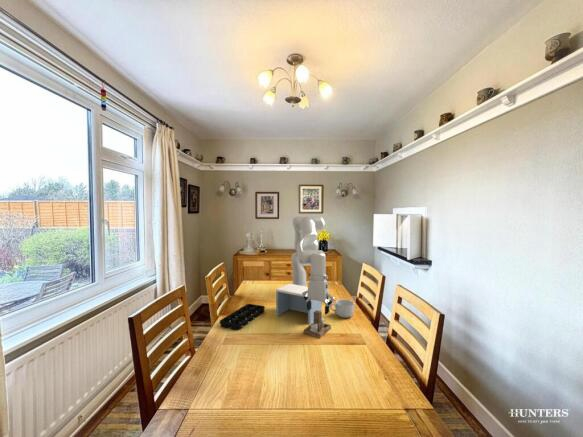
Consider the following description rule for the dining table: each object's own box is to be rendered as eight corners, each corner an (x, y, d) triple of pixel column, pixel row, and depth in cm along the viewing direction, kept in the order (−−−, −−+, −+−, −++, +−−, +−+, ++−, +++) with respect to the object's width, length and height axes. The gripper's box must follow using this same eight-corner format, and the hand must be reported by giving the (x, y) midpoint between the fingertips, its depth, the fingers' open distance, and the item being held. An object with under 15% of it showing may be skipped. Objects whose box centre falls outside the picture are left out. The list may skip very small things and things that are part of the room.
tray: (315, 325, 140) (315, 306, 139) (330, 329, 135) (331, 309, 135) (303, 333, 130) (303, 313, 129) (320, 338, 125) (320, 317, 125)
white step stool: (289, 307, 164) (289, 283, 163) (321, 315, 152) (321, 289, 152) (276, 315, 152) (276, 289, 151) (309, 324, 140) (310, 295, 140)
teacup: (352, 312, 156) (353, 299, 156) (355, 320, 146) (355, 305, 146) (329, 311, 158) (329, 298, 158) (330, 319, 147) (330, 304, 147)
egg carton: (216, 330, 134) (216, 322, 134) (239, 308, 163) (239, 302, 163) (249, 332, 131) (249, 325, 131) (266, 310, 160) (266, 304, 160)
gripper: (337, 278, 130) (337, 312, 130) (306, 273, 139) (306, 306, 139) (331, 281, 124) (330, 317, 124) (299, 276, 133) (299, 310, 133)
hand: (317, 311), depth 132 cm, fingers open, 9 cm apart
